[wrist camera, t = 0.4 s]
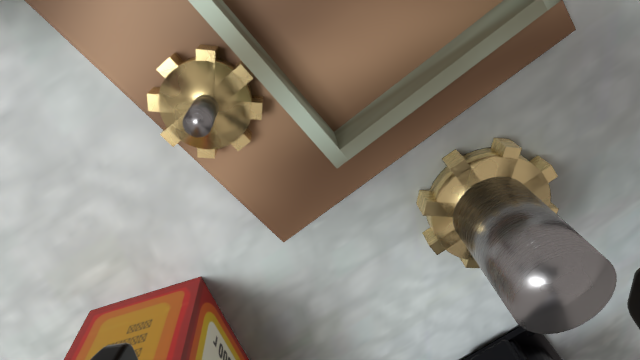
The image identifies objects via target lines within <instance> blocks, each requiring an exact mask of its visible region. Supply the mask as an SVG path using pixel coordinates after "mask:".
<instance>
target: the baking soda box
mask: <svg viewBox="0 0 640 360" xmlns="http://www.w3.org/2000/svg"><path fill="white" fill-rule="evenodd" d="M120 343H129V344H130V345H131V346H132V347H133V349H134V351H135V353H136V355H137V358H138V360H249V359H248V357H247V355H246V354H245V352H244V350H243V349H242V347H241V345H240V343H239V342H238V340H237V338H236V336H235V335H234V333H233V331H232V329H231V328H230V326H229V324H228V323H227V321H226V319H225V317H224V316H223V314H222V312H221V310H220V309H219V307H218V305H217V304H216V302H215V300H214V298H213V297H212V295H211V293H210V291H209V290H208V288H207V286H206V284H205V283H204V281H203V279H202V278H201V277H198V278H195V279H192V280H188V281H185V282H182V283H179V284H175V285H172V286H169V287H166V288H162V289H159V290H156V291H153V292H150V293H146V294H143V295H140V296H137V297H133V298H130V299H127V300H124V301H120V302H117V303H114V304H111V305H108V306H104V307H101V308H98V309H95V310H91V311H90V312H89V314H88V316H87V318H86V320H85V321H84V323H83V325H82V327H81V329H80V331H79V333H78V334H77V336H76V338H75V340H74V342H73V344H72V346H71V347H70V349H69V351H68V353H67V355H66V357H65V358H64V360H90V359H91V358H92V357H93V356H94V355H95V354H96V353H97V352H98V351H99V350H101V349H102V348H103V347H105V346H108V345H114V344H120Z"/></svg>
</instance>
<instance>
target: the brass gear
mask: <svg viewBox="0 0 640 360" xmlns="http://www.w3.org/2000/svg"><path fill="white" fill-rule="evenodd" d="M521 149H522V148H521V147H519V146H518V145H517V144H515V143H514V142H513V141H511V140H510V139H503V138H494V140H493V143H492V146H491V148H484V149H480V150H475V151H473V152H470V153H467V154H465V155H463V156H462V155H461V154H460V153H459V152H458V151H457V150H456V149H455V150H454V151H452V152H451V153H449V154H448V155H447V156H445V157H444V158H442V160H443V161H444V163H445V164H446V165H447V167H446V168H445V169H444V170H443V171H442V172H441V173H440V174H439V175H438V177H437V178H436V179H435V181H434V183H433V184H432V186H431V188H430V190H419V194H418V198H417V202H416V204H417V206H418V207H419V209H420V211H421V212H422V214H423V216H426V217H427V220H428V223H429V225H430V228H429V229H427V230H426V231H424V232H423V235H424V237H425V239H426V240H427V242H428V244H429V246H430V247H431V248H432V249H433V251H434V252H435V253H436V254H437V255H438V254H440V253H441V252H443V251H444V250H447V251H448V252H450V253H451V254H453V255H455V256H457V257H460V259H461V261H462V262H463V264H464V265H465V267H466V268H481V270H482V271H483V273H484V274H485V276H486V277H487V279H488V280H489V282H490V283H491V285H492V286H493V288H494V289H495V291H496V292H497V294H498V295H499V297H500V298H501V300H502V301H503V303H504V304H505V306H506V307H507V308H508V310H509V311H510V313H511V314H512V316H513V317H514V319H515V320H516V322H517V323H518V324H519V325H520V326H521V327H523V328H524V329H526V330H528V331H531V332H534V333H539V334H553V333H559V332H564V331H567V330H570V329H573V328H575V327H578V326H580V325H582V324H583V323H585V322H587V321H588V320H590V319H591V318H593V317H594V316H595V315H596V314H598V313H599V312H600V311H601V310H602V309H603V308H604V307H605V305H606V304H607V303H608V301H609V300H610V298H611V297H612V295H613V292H614V290H615V287H616V272H615V269H614V267H613V265H612V264H611V262H610V261H608V260H607V259H606V258H605V257H604V256H603V255H602V254H601V253H600V252H598V251H597V250H596V249H595V248H594V247H593V246H592V245H591V244H589V243H588V242H587V241H586V240H585V239H584V238H583V237H582V236H581V235H579V234H578V233H577V232H576V231H575V230H574V229H573V228H572V227H570V226H569V225H568V224H567V223H566V222H565V221H564V220H563V219H561V218H560V217H559V216H558V215H557V212H558V208H557V207H556V206H555V205H553V204H552V203H551V202H550V199H551V194H550V187H549V184H548V183H549V182H550V181H552V180H553V179H555V178H557V177H558V176H557V174H556V172H555V171H554V169H553V167H552V165H550V164H549V163H548V162H546V161H545V160H544V159H542V158H541V157H539V156H538V155H537V156H536V157H534V158H533V159H532V160H530V161H528V160H527V159H526V158H524V157H523V156H521V155H520V152H521Z"/></svg>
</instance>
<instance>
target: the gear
mask: <svg viewBox="0 0 640 360" xmlns="http://www.w3.org/2000/svg"><path fill="white" fill-rule="evenodd" d="M156 70H157V71H158V72H159V73H160V74H161V75H162V76H163V77H164V78H165V79H164V81H163V83H162V85H161V87H153V88H152V89H151V90H150V91H149V92H148V93H147V101H148V111H153V112H160V115H161V117H162V120H163V122H164V123H165V125H166V127H165V128H164V130H163V131H162V133H161V134H160V135H161V136H162V137H163V138H164V139H165V140H166V141H167V142H168V143H169V144H171V145H172V146H173V147H174V146H175V145H176V144H177V143H179V142H180V141H182V142H184V143H186V144H188V145H190V146H193V147H196V148H197V157H198V158H213V159H215V156H216V153H217V150H218V148H222V147H225V146H228V145H230V144H231V145H232V146H233V147H234V148H235V149H236V150H237V151H239V150H241V149H242V148H243V147H244V146H246V145H247V144H248V143H249V142H250V141H251V136H252V132H251V131H250V130H249V129H248V128H247V127H248V125H249V123H250V119H255V120H262V109H263V96H254V95H252V90H251V87H250V85H249V83H248V82H250V81H251V80H252V79H253V78H254V74H253V73H252V72H251V71H250V70H249V69H248V67H247V66H246V65H245V64H244V63H243V62H242V61H240V62H239V63H237V64H236V65H235V66H234V65H233V64H231V63H230V62H228V61H226V60H224V59H221V58H218V46H211V45H201V44H200V45H199V46H198V47H197V48H196V57H191V58H189V59H186V60H185V61H183V60H182V59H181V58H180V57H179V56H178V55H177V54H176V53H174V54H173V55H171V56H170V57H169V58H168V59H167V60H166V61H165V62H164V63H163V64H162V65H160V66H159V67H158V68H157V69H156Z"/></svg>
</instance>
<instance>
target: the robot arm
mask: <svg viewBox="0 0 640 360" xmlns="http://www.w3.org/2000/svg"><path fill="white" fill-rule="evenodd" d="M628 309H629V312H630V315H631V317H632V318H633V320H634V321H635V323H636V324H637V326H638V327H639V329H640V268H639V269H638V270H637V271H636V272H635V275H634V279H633V283H632V287H631V291H630V294H629V298H628ZM90 360H138V358H137V355H136V353H135V351H134V349H133V347H132V346H131V345H130V344H129V343H120V344H114V345H108V346H105V347H103V348H102V349H101V350H99V351H98V352H97V353H96V354H95V355H94V356H93V357H92V358H91V359H90ZM463 360H562V359H561V357H560V356H559V355H558V354H557V352H556V351H555V350H554V348H553V347H552V346H551V345H550V343H549V342H548V341H547V339H546V338H545V337H544V336H543V334H539V333H534V332H531V331H528V330H526V329H524V328H523V327H521V326H520V327H519V328H517V329H515V330H514V331H512V332H510V333H508V334H507V335H505V336H503V337H501V338H500V339H498V340H496V341H494V342H493V343H491V344H489V345H488V346H486V347H484V348H482V349H481V350H479V351H477V352H475V353H474V354H472V355H470V356H468V357H467V358H465V359H463Z"/></svg>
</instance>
